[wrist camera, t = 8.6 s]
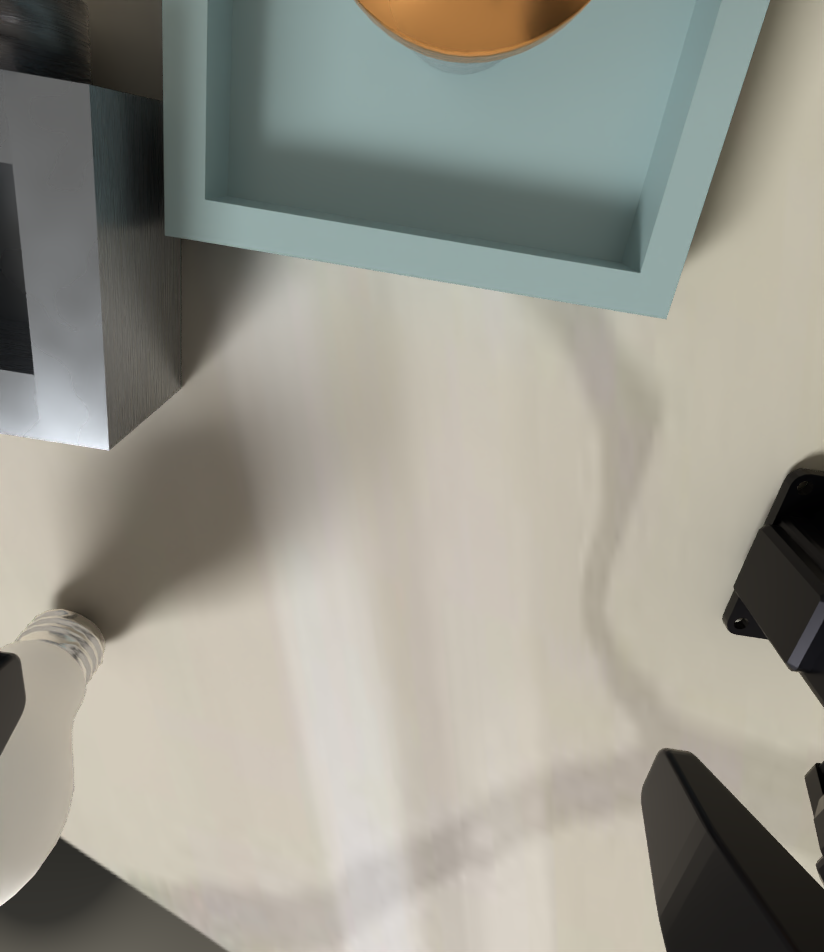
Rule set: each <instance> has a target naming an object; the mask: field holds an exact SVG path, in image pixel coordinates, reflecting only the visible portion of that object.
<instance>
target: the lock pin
mask: <svg viewBox="0 0 824 952" xmlns="http://www.w3.org/2000/svg"><path fill="white" fill-rule="evenodd" d="M354 1H355V2H356V4H357V5H358V7H359V8H360V9H361V10H362V11H363V12H364V13H365V14H366V15H367V16H368V18H369V19H370V20H371V21H372V22H373V23H374V24H375V25H377V26H378V27H379V28H380V29H381V30H382V31H384V32H385V33H386V34H387V35H388V36H390V37H391V38H393V39H394V40H396V41H398V42H399V43H401V44H402V45H404V46H406V47H407V48H409V49H411V50H412V51H413V52H414V53H415V54H416V55H417V56H418V57H419V58H420V59H421V60H422V61H424V62H425V63H427V64H428V65H430V66H431V67H433V68H435V69H438V70H440V71H442V72H446V73H450V74H458V75H465V74H474V73H478V72H482V71H484V70H487V69H489V68H491V67H493V66H495V65H497V64H498V63H500V62H501V61H503V60H504V59H506V58H509V57H511V56H514V55H517V54H520V53H523V52H525V51H527V50H529V49H531V48H533V47H535V46H537V45H539V44H541V43H543V42H544V41H546V40H547V39H549V38H550V37H552V36H553V35H554V34H556V33H557V32H559V31H560V30H562V29H563V28H564V27H565V26H566V25H567V24H569V23H570V22H571V21H572V20H573V19H574V18H575V17H576V16H577V15H578V14H579V13H581V12H582V10H583V9H584V8H585V7H586V6H587V5H588V4H589V2H590V1H591V0H354Z"/></svg>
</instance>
